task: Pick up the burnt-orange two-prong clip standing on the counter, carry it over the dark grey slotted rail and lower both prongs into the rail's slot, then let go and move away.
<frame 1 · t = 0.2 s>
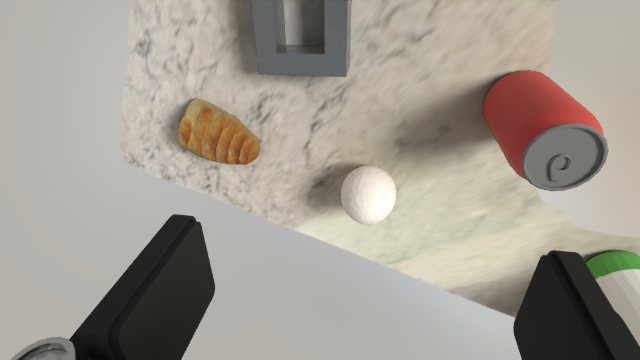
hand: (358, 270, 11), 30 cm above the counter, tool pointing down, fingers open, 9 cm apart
wine bottle: (609, 269, 46), on the counter
beer can: (516, 101, 37), on the counter
egg: (369, 176, 44), on the counter
pastry: (221, 128, 44), on the counter
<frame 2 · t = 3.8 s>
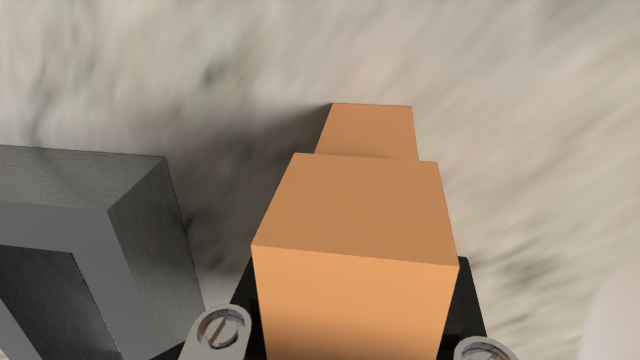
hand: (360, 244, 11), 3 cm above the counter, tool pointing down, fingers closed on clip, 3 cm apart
clip: (365, 195, 14), on the counter, touching gripper
rail: (124, 288, 19), on the counter
when the fingers open (4 cm above the counter, at t = 8.0 s): clip drops 2 cm, resting in rail.
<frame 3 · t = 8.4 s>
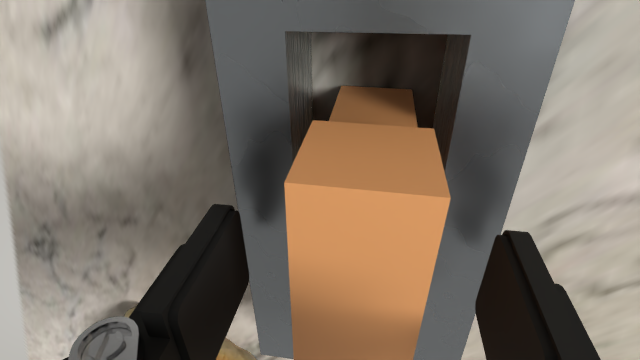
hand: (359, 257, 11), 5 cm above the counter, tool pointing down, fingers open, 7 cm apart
clip: (368, 171, 15), resting in rail
rail: (368, 172, 15), on the counter
pastry: (190, 338, 24), on the counter
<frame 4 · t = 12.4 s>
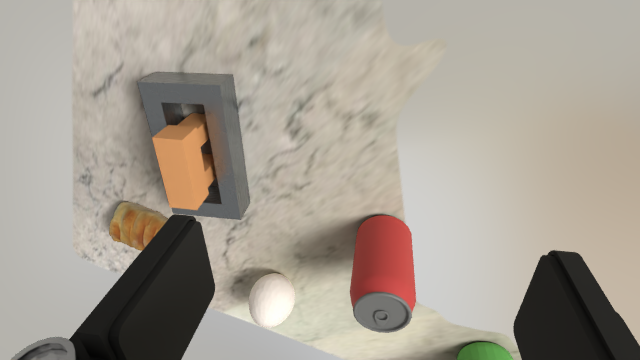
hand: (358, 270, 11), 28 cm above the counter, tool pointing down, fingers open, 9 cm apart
wine bottle: (482, 354, 55), on the counter
clip: (207, 142, 43), resting in rail
rail: (207, 142, 43), on the counter
beer can: (383, 232, 46), on the counter
egg: (279, 277, 53), on the counter
pastry: (150, 221, 52), on the counter
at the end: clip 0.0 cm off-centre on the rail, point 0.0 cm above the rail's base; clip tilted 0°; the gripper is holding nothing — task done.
